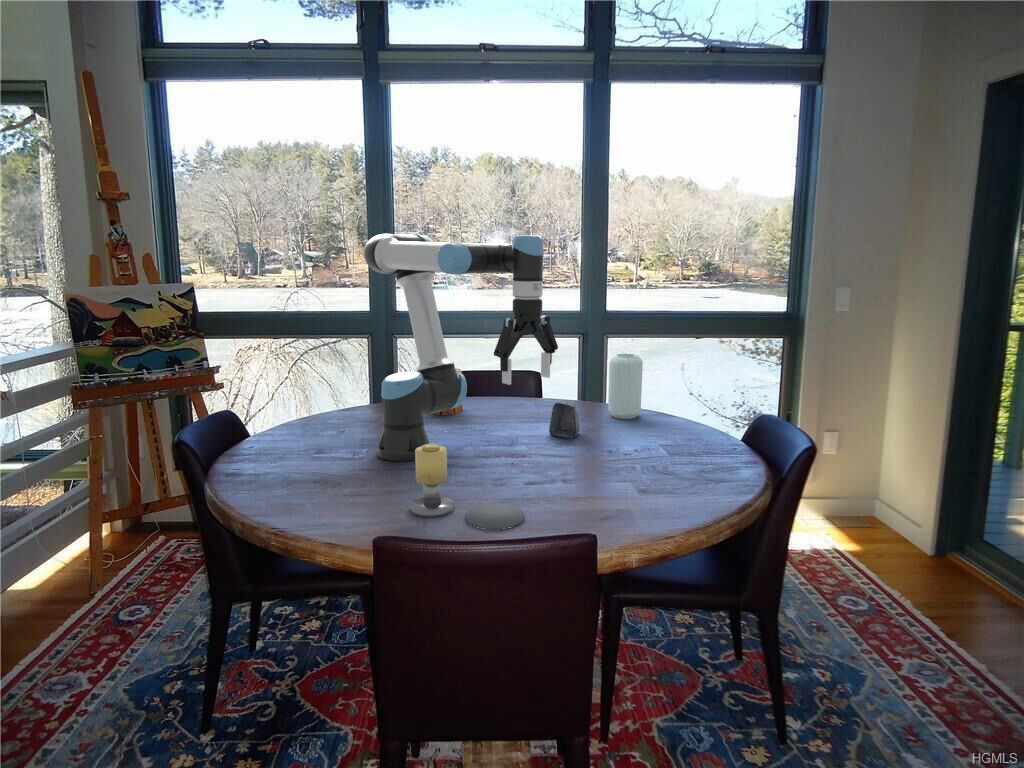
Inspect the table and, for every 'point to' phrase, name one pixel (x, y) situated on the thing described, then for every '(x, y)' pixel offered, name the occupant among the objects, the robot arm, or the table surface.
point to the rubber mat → (494, 516)
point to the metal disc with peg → (432, 503)
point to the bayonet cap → (431, 464)
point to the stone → (564, 420)
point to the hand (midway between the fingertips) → (526, 380)
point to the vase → (625, 386)
